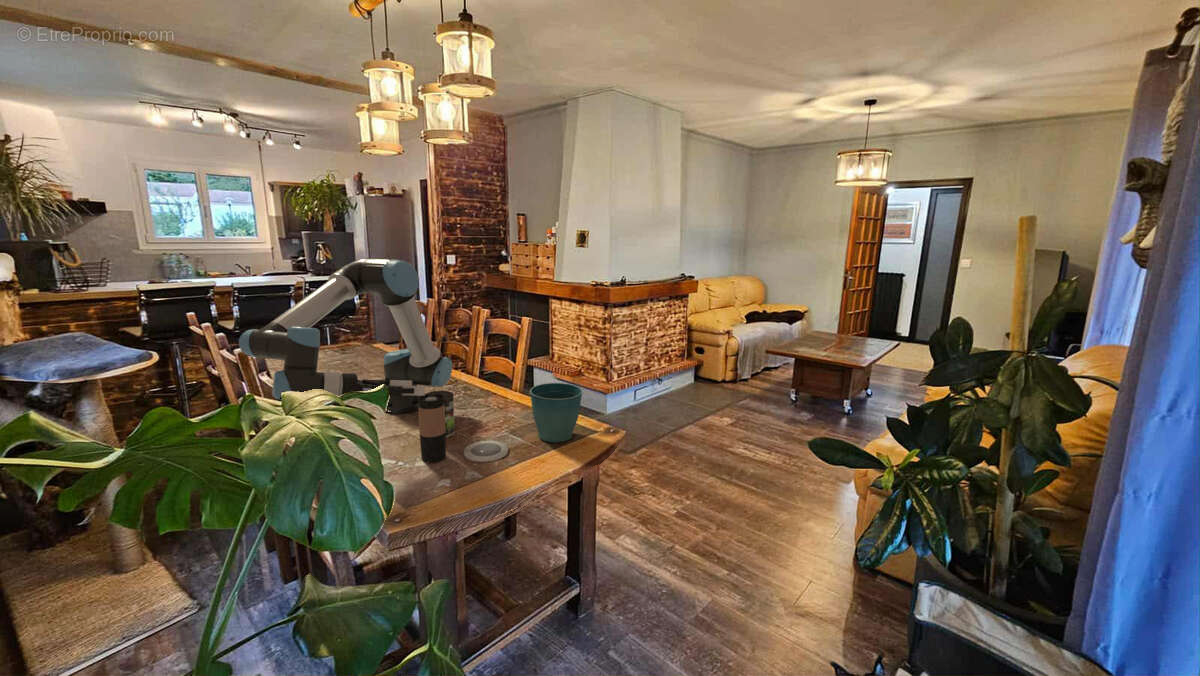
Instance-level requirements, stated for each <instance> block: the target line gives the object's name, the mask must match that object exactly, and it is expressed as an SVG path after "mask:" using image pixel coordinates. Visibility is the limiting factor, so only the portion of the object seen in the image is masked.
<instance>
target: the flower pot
mask: <svg viewBox="0 0 1200 676" xmlns="http://www.w3.org/2000/svg"><path fill="white" fill-rule="evenodd" d="M529 395H530V400H531V411H532V416H533V417H532V418H533V421H534V423H535V427H536V429H537V434H538V438H539V439H541V440H542V441H545V442H547V443H563V442H567V441H569V440H570V439H572V438H573V435H574V434H573V433H574V429H575V427H576V424H577V422H578V420H579V416H580V415H579V414H580V409H581V401H582V395H583V389H582V388H581V387H579V386H577V385H575V384H571V383H564V382H547V383H541V384H537V385H534V386H533V387H531V388H530V390H529Z"/></svg>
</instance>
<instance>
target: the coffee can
mask: <svg viewBox="0 0 1200 676" xmlns="http://www.w3.org/2000/svg"><path fill="white" fill-rule="evenodd" d="M425 394H429V395H436V394H442V395H443V396H444V407H445V427H446V437H447V438H449V436H450V437H451V435H452V436H453V435H454V434H455V432H456V431H455V410H454V406H455V405H454V396H455V395H454V392H452V391H450V390H433V391H430V392H425Z"/></svg>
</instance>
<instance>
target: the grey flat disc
mask: <svg viewBox="0 0 1200 676" xmlns="http://www.w3.org/2000/svg"><path fill="white" fill-rule="evenodd" d="M508 453H509V446H508V444H506V443H504V442H501V441H497V440H482V441H477V442H473V443H471V444H468V445H467V446H466V447H464V450H463V456H464V458H465V459H466V460H468V461H472V462H475V463H488V462H495V461H498V460H500V459H503V458H504V457H506V456H507V455H508Z"/></svg>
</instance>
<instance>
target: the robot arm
mask: <svg viewBox="0 0 1200 676" xmlns="http://www.w3.org/2000/svg"><path fill="white" fill-rule="evenodd" d="M418 288H419V275H418V272H417V270H416V269H415V267H414V266H413V265H412V264H411V263H410V262H408V261H405V260H399V259H396V258H394V259H383V258H382V259H381V258H380V259H379V258H366V257H365V258H362V259H357V260H355V261H352V262H350V263H348V264H346V265H344V266H342V267H341V268H339V269H338V270H336V271H334V272H333V273H331V274H330V275H329V276H328V278H327V281H326V282H325V283H324V284H322V285H321V286H320V287H318V288H316V289H315V290H313V291H312V292H311V293H309V294H308V295H307V296H306V297H304V298H303V299H301V300H300V301H299V302H297V303H296V304H294V305H293V306H291V307H290V308H289V309H287V310H286V311H284V313H282V314H280V315H279V316H277V317H276V318H275V319H274V320H272V321H271V322H269V323H268V324H266V325H265V326H264V327H262V328H260V329H259V328H256V329H255V328H254V329H248V330H246V331H244V332H243V333H242V334H241V335H240V337H239V339H238V346H239V349H240V351H241V352H242V353H243V354H244V355H245V356H249V357H253V358H256V359H257V358H258V359H266V360H267V359H268V360H279V361H283V362H284V363H283V370H277V371H275V372H274V375H273V381H272V391H271V392H272V397H273V398H274V399H277V400H281V399H280V397H281V392H282V391H299V392H304V391H308V390H312V389H323V390H326V391H328V392H331V393H333V394H335V395H338V396H340V395H342V394H344V393H347V392H351V391H368V390H371V389H374V388H376V387H378V386H380V385H382V384H385V385H386V386H387V387H388V390H389V395H390V399H389V402H388V406H387V412H386V413H388V410H389V411H391V412H393V413H392V414H406V413H410V412H414V411H417V410H418V411H419V409H418V398H419V397H420V396H425V394H426V387H431V388H435V387H436V388H442V387H444V386H445V385H447V383H448V382H449V381H450V378H451V376H452V371H453V362H452V360H451V359H450V358H449V357H447V356H443V355H442V352H441V350H440V349H439V347H436V346H434V343H433V341H432V339H431V336H430V334H429V332H428V330H427V326H426V324H425V322H424V320H423V317H422V315H421V312H420V310H419V308H418V305H417V303H416V300H415V296H416V295H417V291H418ZM362 294H371V295H377V296H378V299H379V300H380V302H381V303H382V305H383V306H385V307H388V309H389V310H390V312H391V314H392V317H393V318H394V321H395V323H396V325H397V328H398V330H399V332H400V335H401V336H402V339H403V341H404V343H405V345H406V347H407V348H403V349H397V350H392V351H390V352H386V353H385V354H384V357H383V370H384V371H383V372H384V374H383V375H384V379H366V378H364V379H358V375H357V374H356V373H354V372H353V373H352V372H348V373H347V372H342V373H340V372H327V371H323V372H319V371H318V362H319V361H318V360H319V355H320V354H319V353H320V347H321V342H320V341H321V332H320V330H319V329H318V328H317V327H316V328H315V327H313V326H314V325H316V324H317V323H318V322H319V321H320V320H322V319H323V318H325V316H327V315H328V314H329V313H331V312H332V311H333V310H334V309H336V308H337V307H339V305H341V304H342V303H343V302H345V301H346V300H347V301H349V300H350V301H351V300H352V299H354V298H355V297H357V296H360V295H362Z"/></svg>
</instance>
